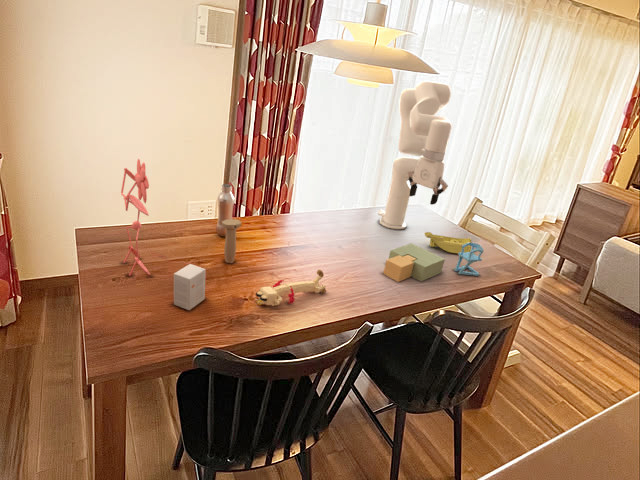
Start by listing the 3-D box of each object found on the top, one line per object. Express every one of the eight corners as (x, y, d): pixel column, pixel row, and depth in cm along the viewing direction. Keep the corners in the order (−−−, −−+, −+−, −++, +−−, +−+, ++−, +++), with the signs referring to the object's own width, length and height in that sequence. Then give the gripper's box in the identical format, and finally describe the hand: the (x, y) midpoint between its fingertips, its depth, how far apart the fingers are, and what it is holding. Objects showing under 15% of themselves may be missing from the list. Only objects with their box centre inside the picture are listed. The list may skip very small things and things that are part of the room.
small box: (189, 293, 146) (190, 263, 141) (205, 299, 144) (206, 268, 139) (173, 305, 139) (172, 273, 134) (189, 311, 138) (189, 279, 133)
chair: (450, 267, 191) (459, 240, 185) (467, 267, 194) (476, 240, 189) (462, 277, 185) (471, 249, 179) (479, 276, 188) (488, 248, 182)
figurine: (131, 289, 143) (125, 175, 127) (116, 252, 162) (109, 149, 145) (182, 282, 151) (183, 174, 134) (162, 248, 170) (160, 149, 153)
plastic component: (460, 238, 215) (473, 238, 205) (458, 255, 215) (470, 255, 206) (420, 232, 210) (431, 231, 200) (418, 249, 210) (429, 249, 201)
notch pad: (387, 264, 185) (390, 250, 183) (407, 256, 195) (411, 243, 192) (421, 281, 176) (425, 267, 174) (441, 272, 186) (445, 258, 183)
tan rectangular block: (383, 274, 177) (386, 259, 174) (401, 267, 185) (404, 253, 182) (398, 282, 173) (401, 267, 170) (415, 274, 181) (419, 260, 178)
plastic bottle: (236, 235, 189) (239, 186, 179) (224, 239, 184) (227, 189, 174) (224, 230, 192) (226, 181, 182) (212, 234, 186) (214, 184, 177)
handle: (240, 262, 169) (243, 223, 162) (224, 266, 165) (227, 226, 158) (233, 257, 172) (236, 218, 165) (217, 260, 168) (219, 220, 161)
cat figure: (310, 286, 163) (247, 296, 148) (315, 263, 160) (251, 271, 144) (328, 300, 157) (264, 312, 141) (334, 276, 153) (269, 286, 137)
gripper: (408, 149, 178) (398, 193, 186) (448, 162, 168) (436, 208, 176) (420, 148, 183) (409, 191, 191) (459, 161, 173) (446, 205, 181)
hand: (422, 199), depth 183 cm, fingers open, 9 cm apart
